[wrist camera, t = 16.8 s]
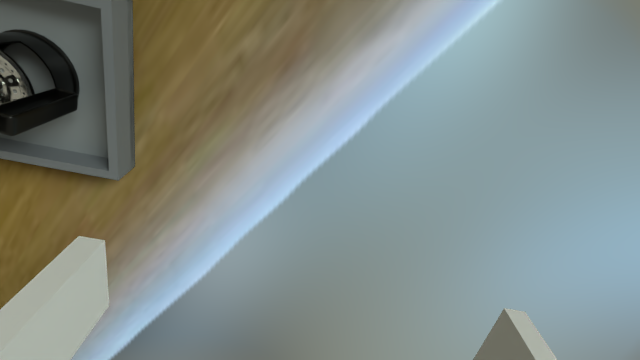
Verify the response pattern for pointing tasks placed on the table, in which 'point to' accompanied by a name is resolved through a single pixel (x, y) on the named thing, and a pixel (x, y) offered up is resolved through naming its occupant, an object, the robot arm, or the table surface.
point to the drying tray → (94, 81)
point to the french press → (16, 89)
